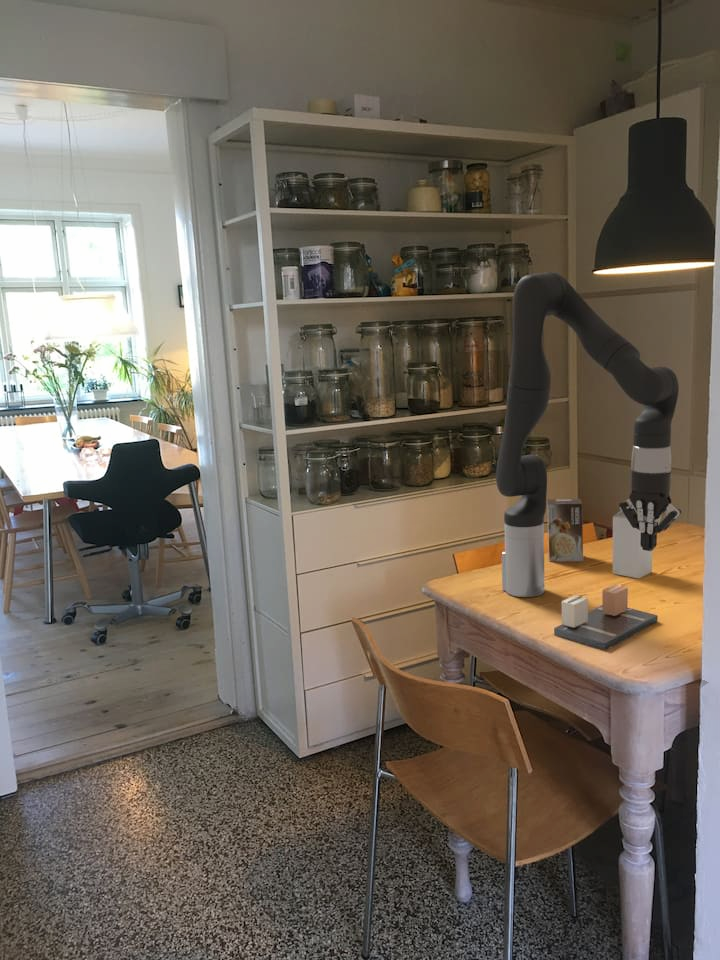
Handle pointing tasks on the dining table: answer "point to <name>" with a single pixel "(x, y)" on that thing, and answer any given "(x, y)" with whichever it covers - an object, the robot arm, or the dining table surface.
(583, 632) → the console board
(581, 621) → the block
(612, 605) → the fader terracotta
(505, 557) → the robot arm
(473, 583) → the dining table surface
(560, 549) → the coffee box
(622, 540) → the milk carton
